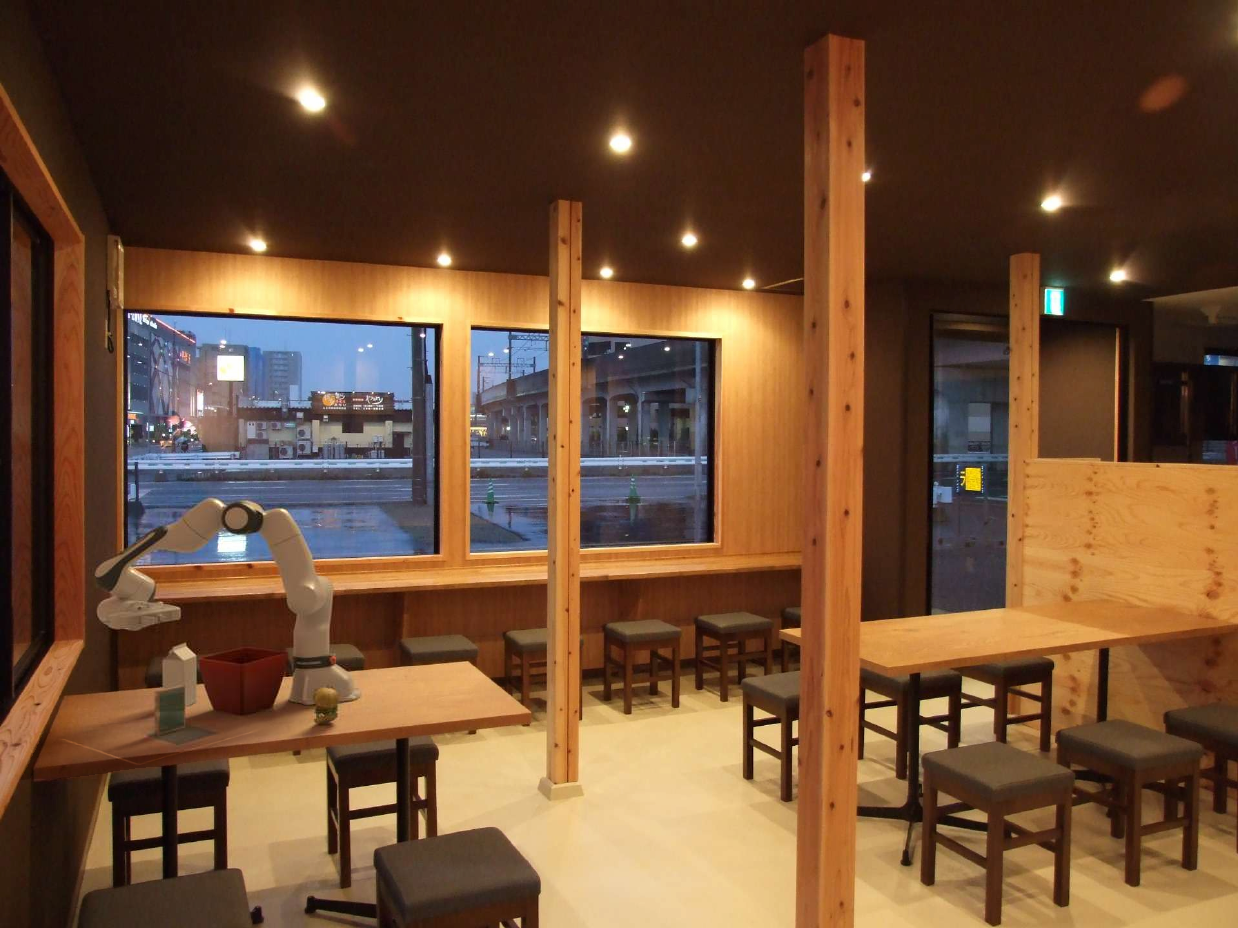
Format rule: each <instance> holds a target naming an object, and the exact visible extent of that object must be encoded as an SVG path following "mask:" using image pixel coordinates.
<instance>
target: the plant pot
mask: <svg viewBox="0 0 1238 928" xmlns="http://www.w3.org/2000/svg"><path fill="white" fill-rule="evenodd" d="M288 657H289V652H288V651H281V650H274V649H273V650H272V649H264V648H256V647H249V646H245V647H239V648H236V649H232V650H227V651H222V652H219V653H215V654H210V655H209V654H208V655H205V656H201V657H198V665H199V669H200V670H199V671H200V676H201V678H202V681H203V686H204V689H205V692H206V695H207V698H208V700H209V702H210V705H211V708H212V709H213V711H214V712H220V713H224V714H225V713H226V714H230V715H231V714H232V715H237V716H247V715H250V714H253V713H255V712H258V711H262V710H264V708H265V709H267V708H271V707H273V706H274V705H275V702H276V701H277V700H276V699H277V697H278V694H279V692H280V689H281V686H282V682H283V679H284V675H285V672H286V668H287V662H288Z"/></svg>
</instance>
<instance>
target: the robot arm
mask: <svg viewBox="0 0 1238 928" xmlns="http://www.w3.org/2000/svg"><path fill="white" fill-rule="evenodd" d="M222 530H226V532H228V533H230V534H232V535H237V536H240V535H241V536H248V535H251V534H260V535H261V537H262V538H263V540H264V541H265V543H266V545H267V548H268V550H269V552H270V554H271V556H272V558H273V561H274V563H275V564H276V566H277V569H278V570H279V572H278V573H279V574H280V577H281V582H282V585H283V588H284V591H285V594H286V603H287V606H288V607H287V608H289V610H291V612H292V613H294V614H296V620H295V625H294V628H293V655H292V659H291V671H292V683H291V689H290V693H289V696H288V700H289V702H293V703H298V704H303V705H304V706H305V705H306V706H310V705H316V704H315V703H314V701H313V694H314V693H315V692H316V691H317V690H318V689H320V688H325V687H328V686H329V685H330V688H332V689H334V690H335V691H337V693H338V694H339V703H340V702H349V701H355V700H357V699H359V698H360V697H361V695H362V688H360V687H358V686H355V683H354V682H355V681H354V678H353V676H352V674H351V673H350V672H349V671H348V670H345V669H344V668H343V667H341V666H339V665H338V664H336V663H337V656H336V655H337V654H336V653H332V652H330V627H331V626H330V625H331V618H332V609H333V598H334V584H333V583H332V581H331V580H330V579H328V578H327V577H326V576H324V575H323V576H322V575H317V572H316V568H315V565H314V559H313V554H312V552H311V550H310V549H309V546H308V543H307V541H306V540H305V537H304V535H303V534H302V532H301V529H300V527H299V525H298V524H297V522H296V521H295V520H294V517H292V515H291V514H290V512H289V511H288V510H287V509H285V508H279V507H278V508H273V509H270V510H266V509H265V508H264V507H263V505H261V504H260V503H259V502H256V501H251V500H247V499H246V500H237V501H234V502H230V503H229V504H228V505H227V504H225V503H224V502H222V500H219V499H217V498H214V497H208V498H205V499H204V500H202V501H201V502H199V503H198V504H196V505H195V506H193V507H192V508H191V509H190V510H189V511H187V513H185V514H184V515H183V516H182V517H181V518H180V519H178V520H177V521H175V522H173V523H171V524H168V525H160V526H158V527H155V528H154V529H152V530H151V531H149V532H147V533H146V534H144V535H143V536H141V537H140V538H138V539H137V540H135V541H134V542H133V543H131V544H130V545H129V546H127V547H126V548H124V549H123V550H122V551H120V552H119V553H117V554H116V555H114V556H111V557H110V558H108V559H106V560H104V561H103V562H102V563H100V564H99V565H98V566H97V568H96V569H95V571H94V574H93V576H94V577H93V579H94V582H95V583H94V584H95V585H96V588H97V589H100V590H102V591H104V592H107V593H109V594H112V595H113V596H111V597H109V598H106V599H104V600H102V601H100V602H99V603H98V605H97V608H96V614H97V617H98V619H99V621H100V622H101V623H103V624H105V625H107V627H108V628H110V629H113V630H122V629H123V630H128V631H139V630H142V629H143V628H147V627H149V626H152V625H157V624H161V623H165V622H171V621H178V620H180V619H181V615H182V613H181V611H182V610H181V608H180V607H178V606H175V605H173V604H172V605H171V604H165V603H164V602H163V601H153V600H154V598H155V596H156V592H157V586H156V581H155V580H154V579H153V578H151V577H149V576H148V575H147V574H145V573H143V572H140V571H139V570H137V569H135V568H134V567H132V566H133V565H135V564H136V562H138V561H139V560H141V559H143V558H144V557H145V556H146V555H148V554H149V553H151V552H154V551H158V550H159V551H160V550H161V551H162V550H163V551H171V552H176V553H183V554H191V553H195V552H197V551H200V550H201V549H203V548H204V547H205V546H206V545H207V544H208V543H209V542H210V541H211V540H212V539H213V538H214V537H215V535H217V534H218V533H219V532H221V531H222Z"/></svg>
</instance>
